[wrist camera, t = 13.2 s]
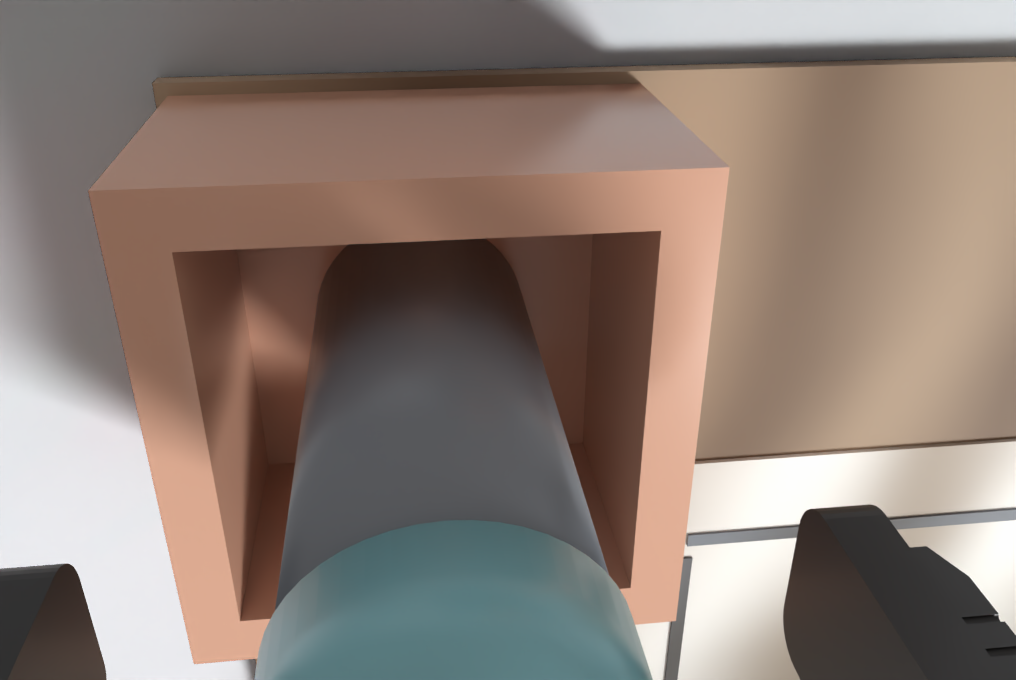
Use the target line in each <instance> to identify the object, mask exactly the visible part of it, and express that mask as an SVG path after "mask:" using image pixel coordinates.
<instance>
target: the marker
mask: <svg viewBox="0 0 1016 680" xmlns="http://www.w3.org/2000/svg"><path fill="white" fill-rule="evenodd" d="M254 680H653V679H652V676H651V673H650V669H649V666H648V663H647V660H646V657H645V654H644V651H643V648H642V645H641V642H640V639H639V636H638V632H637V629H636V626H635V623H634V620H633V617H632V614H631V612H630V609H629V606H628V604H627V601H626V599H625V598H624V596H623V594H622V593H621V591H620V589H619V588H618V586H617V584H616V583H615V582H614V581H613V580H612V578H611V577H610V576H609V573H608V570H607V567H606V564H605V561H604V557H603V554H602V551H601V548H600V544H599V541H598V538H597V535H596V532H595V528H594V525H593V522H592V519H591V516H590V512H589V509H588V506H587V503H586V499H585V496H584V493H583V490H582V487H581V483H580V480H579V477H578V474H577V470H576V467H575V464H574V461H573V458H572V454H571V451H570V448H569V445H568V441H567V438H566V435H565V432H564V429H563V425H562V422H561V419H560V416H559V413H558V409H557V406H556V403H555V400H554V396H553V393H552V390H551V387H550V384H549V380H548V377H547V374H546V371H545V367H544V364H543V361H542V358H541V355H540V351H539V348H538V345H537V342H536V339H535V335H534V332H533V329H532V326H531V322H530V319H529V316H528V313H527V310H526V306H525V303H524V300H523V297H522V293H521V290H520V287H519V284H518V281H517V279H516V276H515V273H514V272H513V270H512V268H511V266H510V264H509V263H508V261H507V260H506V259H505V257H504V256H503V255H502V253H501V252H500V251H499V250H498V249H497V248H496V247H495V246H494V245H493V244H492V243H491V242H489V241H488V240H487V239H463V240H440V241H418V242H395V243H372V244H349V245H347V246H346V247H345V248H344V249H343V250H342V251H341V252H340V253H339V255H338V256H337V257H336V258H335V259H334V261H333V262H332V264H331V265H330V267H329V269H328V270H327V272H326V274H325V276H324V279H323V281H322V283H321V287H320V291H319V294H318V301H317V308H316V315H315V322H314V330H313V337H312V344H311V352H310V359H309V366H308V373H307V381H306V388H305V395H304V402H303V410H302V417H301V424H300V432H299V439H298V446H297V453H296V461H295V468H294V475H293V482H292V490H291V497H290V504H289V512H288V519H287V526H286V533H285V541H284V548H283V555H282V562H281V570H280V577H279V584H278V592H277V599H276V606H275V612H274V613H273V615H272V617H271V619H270V621H269V623H268V625H267V627H266V629H265V631H264V634H263V638H262V641H261V644H260V648H259V652H258V658H257V665H256V672H255V678H254Z"/></svg>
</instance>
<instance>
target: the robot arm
mask: <svg viewBox="0 0 1016 680" xmlns="http://www.w3.org/2000/svg"><path fill="white" fill-rule="evenodd" d="M783 626H784V635H785V641H786V645H787V649H788V652H789V656H790V658H791V661H792V663H793V666H794V668H795V670H796V672H797V674H798V676H799V678H800V680H1016V635H1015V634H1014V632H1013V631H1012V630H1011V629H1010V627H1009V626H1008V625H1007V624H1006V622H1005V621H1004V622H1001V621H1000V620H999V613H998V612H997V611H996V610H995V608H994V607H993V606H992V605H991V603H990V602H989V601H988V600H987V598H986V597H985V596H984V595H983V593H982V592H981V591H980V590H979V588H978V587H977V586H976V584H975V583H974V582H973V581H972V579H971V578H970V577H969V576H968V575H966V574H965V573H963V572H962V571H961V570H959V569H958V568H956V567H955V566H954V565H952V564H951V563H949V562H948V561H947V560H945V559H944V558H942V557H941V556H940V555H938V554H937V553H935V552H934V551H933V550H931V549H930V548H928V547H927V546H922V547H909V546H908V544H907V543H906V542H905V540H904V539H903V538H902V536H901V535H900V534H899V532H898V531H897V530H896V528H895V527H894V525H893V524H892V523H891V521H890V520H889V519H888V517H887V516H886V515H885V513H884V512H883V511H882V510H881V509H880V508H878V507H877V506H875V505H871V504H868V505H855V506H842V507H829V508H816V509H809V510H807V511H805V512H804V514H803V515H802V517H801V520H800V524H799V528H798V534H797V539H796V544H795V550H794V555H793V560H792V565H791V571H790V576H789V581H788V587H787V592H786V597H785V603H784V609H783ZM0 680H106V671H105V665H104V661H103V658H102V654H101V651H100V647H99V644H98V641H97V637H96V634H95V630H94V627H93V623H92V620H91V617H90V613H89V610H88V606H87V603H86V599H85V596H84V592H83V589H82V586H81V582H80V579H79V576H78V574H77V572H76V570H75V568H74V567H73V566H72V565H70V564H56V565H43V566H30V567H17V568H4V569H0Z"/></svg>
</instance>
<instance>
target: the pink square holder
mask: <svg viewBox="0 0 1016 680" xmlns="http://www.w3.org/2000/svg"><path fill="white" fill-rule="evenodd" d="M729 169H730V167H729V166H728V165H727V164H726V163H725V162H724V161H723V160H722V159H720V158H719V157H718V156H717V155H716V154H715V153H714V152H713V151H712V150H711V149H710V148H709V147H708V146H707V145H706V144H705V143H703V142H702V141H701V140H700V139H699V138H698V137H697V136H696V135H695V134H694V133H693V132H692V131H691V130H690V129H689V128H688V127H687V126H685V125H684V124H683V123H682V122H681V121H680V120H679V119H678V118H677V117H676V116H675V115H674V114H673V113H672V112H671V111H670V110H668V109H667V108H666V107H665V106H664V105H663V104H662V103H661V102H660V101H659V100H658V99H657V98H656V97H655V96H654V95H653V94H652V93H650V92H649V91H648V90H647V89H646V88H645V87H644V86H643V85H642V84H641V83H635V84H597V85H560V86H522V87H485V88H448V89H410V90H373V91H335V92H298V93H261V94H223V95H186V96H167V97H166V98H165V100H164V101H163V102H162V103H161V104H160V106H159V107H158V108H157V109H156V110H155V112H154V113H153V114H152V115H151V116H150V117H149V119H148V120H147V121H146V122H145V123H144V125H143V126H142V127H141V128H140V129H139V131H138V132H137V133H136V134H135V135H134V137H133V138H132V139H131V140H130V141H129V143H128V144H127V145H126V146H125V147H124V149H123V150H122V151H121V152H120V153H119V154H118V156H117V157H116V158H115V159H114V160H113V162H112V163H111V164H110V165H109V166H108V168H107V169H106V170H105V171H104V172H103V174H102V175H101V176H100V177H99V178H98V180H97V181H96V182H95V183H94V184H93V185H92V187H91V188H90V189H89V190H88V193H89V198H90V202H91V207H92V211H93V216H94V220H95V225H96V229H97V233H98V238H99V242H100V247H101V251H102V256H103V260H104V265H105V269H106V274H107V278H108V283H109V287H110V292H111V296H112V300H113V305H114V309H115V314H116V318H117V323H118V327H119V332H120V336H121V341H122V345H123V350H124V354H125V359H126V363H127V367H128V372H129V376H130V381H131V385H132V390H133V394H134V399H135V403H136V408H137V412H138V417H139V421H140V425H141V430H142V434H143V439H144V443H145V448H146V452H147V457H148V461H149V466H150V470H151V475H152V479H153V484H154V488H155V492H156V497H157V501H158V506H159V510H160V515H161V519H162V524H163V528H164V533H165V537H166V542H167V546H168V551H169V555H170V559H171V564H172V568H173V573H174V577H175V582H176V586H177V591H178V595H179V600H180V604H181V609H182V613H183V618H184V622H185V626H186V631H187V635H188V640H189V644H190V649H191V653H192V658H193V662H194V664H201V663H212V662H224V661H235V660H246V659H257V658H258V652H259V648H260V644H261V641H262V638H263V634H264V631H265V629H266V627H267V625H268V623H269V621H270V619H271V617H272V615H273V613H274V612H275V606H276V599H277V592H278V584H279V577H280V570H281V562H282V555H283V548H284V541H285V533H286V526H287V519H288V512H289V504H290V497H291V490H292V482H293V475H294V468H295V461H296V453H297V446H298V439H299V432H300V424H301V417H302V410H303V402H304V395H305V388H306V381H307V373H308V366H309V359H310V352H311V344H312V337H313V330H314V322H315V315H316V308H317V301H318V294H319V291H320V287H321V283H322V281H323V279H324V276H325V274H326V272H327V270H328V269H329V267H330V265H331V264H332V262H333V261H334V259H335V258H336V257H337V256H338V255H339V253H340V252H341V251H342V250H343V249H344V248H345V247H346V246H347V245H349V244H372V243H395V242H418V241H440V240H463V239H487V240H488V241H489V242H491V243H492V244H493V245H494V246H495V247H496V248H497V249H498V250H499V251H500V252H501V253H502V255H503V256H504V257H505V259H506V260H507V261H508V263H509V264H510V266H511V268H512V270H513V272H514V273H515V276H516V279H517V281H518V284H519V287H520V290H521V293H522V297H523V300H524V303H525V306H526V310H527V313H528V316H529V319H530V322H531V326H532V329H533V332H534V335H535V339H536V342H537V345H538V348H539V351H540V355H541V358H542V361H543V364H544V367H545V371H546V374H547V377H548V380H549V384H550V387H551V390H552V393H553V396H554V400H555V403H556V406H557V409H558V413H559V416H560V419H561V422H562V425H563V429H564V432H565V435H566V438H567V441H568V445H569V448H570V451H571V454H572V458H573V461H574V464H575V467H576V470H577V474H578V477H579V480H580V483H581V487H582V490H583V493H584V496H585V499H586V503H587V506H588V509H589V512H590V516H591V519H592V522H593V525H594V528H595V532H596V535H597V538H598V541H599V544H600V548H601V551H602V554H603V557H604V561H605V564H606V567H607V570H608V573H609V576H610V577H611V578H612V580H613V581H614V582H615V583H616V584H617V586H618V588H619V589H620V591H621V593H622V594H623V596H624V598H625V599H626V601H627V604H628V606H629V609H630V612H631V614H632V617H633V620H634V623H635V625H638V624H649V623H660V622H671V621H676V616H677V607H678V599H679V591H680V582H681V574H682V565H683V557H684V548H685V540H686V532H687V523H688V515H689V506H690V498H691V489H692V481H693V473H694V464H695V456H696V447H697V439H698V431H699V422H700V414H701V405H702V397H703V388H704V380H705V372H706V363H707V355H708V346H709V338H710V329H711V321H712V313H713V304H714V296H715V287H716V279H717V270H718V262H719V254H720V245H721V237H722V228H723V220H724V211H725V203H726V195H727V186H728V178H729Z"/></svg>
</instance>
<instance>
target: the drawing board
mask: <svg viewBox="0 0 1016 680" xmlns="http://www.w3.org/2000/svg"><path fill="white" fill-rule="evenodd" d="M635 83H641V84H642V85H643V86H644V87H645V88H646V89H647V90H648V91H649V92H650V93H652V94H653V95H654V96H655V97H656V98H657V99H658V100H659V101H660V102H661V103H662V104H663V105H664V106H665V107H666V108H667V109H668V110H670V111H671V112H672V113H673V114H674V115H675V116H676V117H677V118H678V119H679V120H680V121H681V122H682V123H683V124H684V125H685V126H687V127H688V128H689V129H690V130H691V131H692V132H693V133H694V134H695V135H696V136H697V137H698V138H699V139H700V140H701V141H702V142H703V143H705V144H706V145H707V146H708V147H709V148H710V149H711V150H712V151H713V152H714V153H715V154H716V155H717V156H718V157H719V158H720V159H722V160H723V161H724V162H725V163H726V164H727V165H728V166H729V167H730V169H729V178H728V186H727V195H726V203H725V211H724V220H723V228H722V237H721V245H720V254H719V262H718V270H717V279H716V287H715V296H714V304H713V313H712V321H711V329H710V338H709V346H708V355H707V363H706V372H705V380H704V388H703V397H702V405H701V414H700V422H699V431H698V439H697V447H696V456H695V464H694V473H693V481H692V489H691V498H690V506H689V515H688V523H687V532H686V540H685V548H684V557H683V565H682V574H681V582H680V591H679V599H678V607H677V616H676V621H671V622H660V623H649V624H638V625H635V626H636V629H637V632H638V636H639V639H640V642H641V645H642V648H643V651H644V654H645V657H646V660H647V663H648V666H649V669H650V673H651V676H652V679H653V680H800V678H799V676H798V674H797V672H796V670H795V668H794V666H793V663H792V661H791V658H790V656H789V652H788V649H787V645H786V641H785V635H784V626H783V609H784V603H785V597H786V592H787V587H788V581H789V576H790V571H791V565H792V560H793V555H794V550H795V544H796V539H797V534H798V528H799V524H800V520H801V517H802V515H803V514H804V512H805V511H807V510H809V509H816V508H829V507H842V506H855V505H868V504H871V505H875V506H877V507H878V508H880V509H881V510H882V511H883V512H884V513H885V515H886V516H887V517H888V519H889V520H890V521H891V523H892V524H893V525H894V527H895V528H896V530H897V531H898V532H899V534H900V535H901V536H902V538H903V539H904V540H905V542H906V543H907V544H908V546H909V547H922V546H927V547H928V548H930V549H931V550H933V551H934V552H935V553H937V554H938V555H940V556H941V557H942V558H944V559H945V560H947V561H948V562H949V563H951V564H952V565H954V566H955V567H956V568H958V569H959V570H961V571H962V572H963V573H965V574H966V575H968V576H969V577H970V578H971V579H972V581H973V582H974V583H975V584H976V586H977V587H978V588H979V590H980V591H981V592H982V593H983V595H984V596H985V597H986V598H987V600H988V601H989V602H990V603H991V605H992V606H993V607H994V608H995V610H996V611H997V612H998V613H999V620H1000V621H1001V622H1004V621H1005V622H1006V624H1007V625H1008V626H1009V627H1010V629H1011V630H1012V631H1013V632H1014V634H1015V635H1016V56H1015V57H974V58H934V59H893V60H853V61H812V62H772V63H731V64H691V65H650V66H610V67H570V68H529V69H489V70H448V71H408V72H367V73H327V74H286V75H246V76H205V77H165V78H157V79H156V80H155V81H154V82H153V83H152V86H153V92H154V97H155V103H156V108H158V107H159V106H160V104H161V103H162V102H163V101H164V100H165V98H166V97H167V96H186V95H223V94H261V93H298V92H335V91H373V90H410V89H448V88H485V87H522V86H560V85H597V84H635ZM255 661H256V665H257V659H255Z"/></svg>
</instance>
